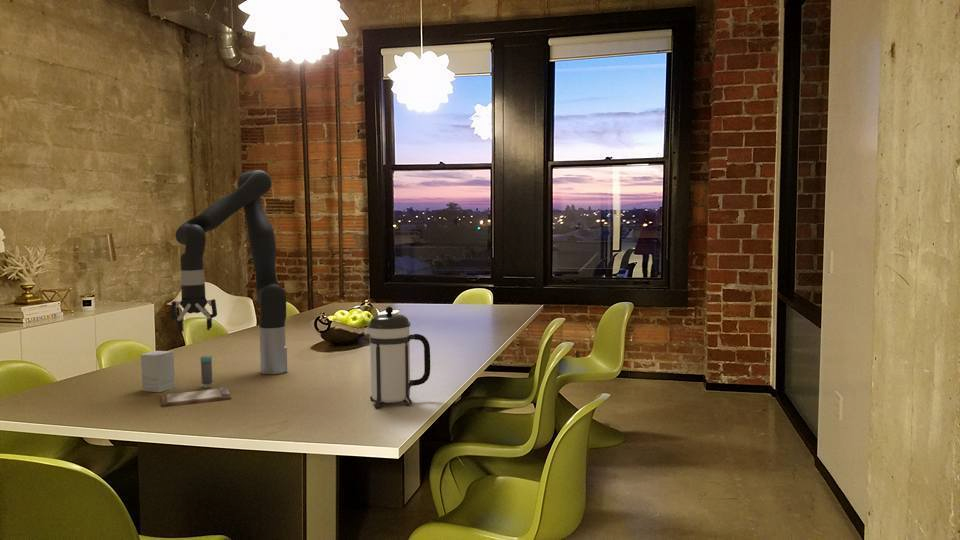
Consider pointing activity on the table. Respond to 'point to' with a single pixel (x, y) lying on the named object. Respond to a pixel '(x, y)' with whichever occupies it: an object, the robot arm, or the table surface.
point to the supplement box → (157, 371)
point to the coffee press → (393, 358)
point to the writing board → (196, 397)
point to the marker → (206, 371)
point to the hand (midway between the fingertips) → (195, 330)
